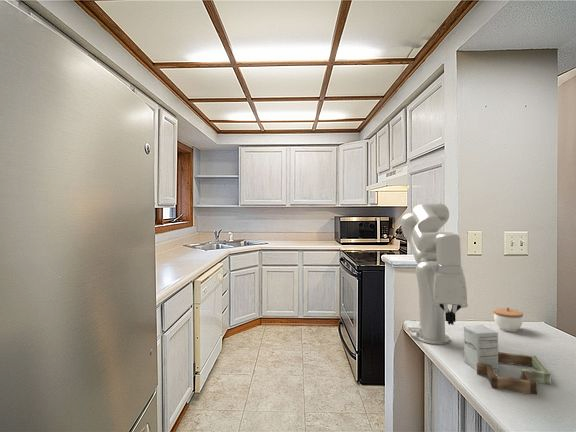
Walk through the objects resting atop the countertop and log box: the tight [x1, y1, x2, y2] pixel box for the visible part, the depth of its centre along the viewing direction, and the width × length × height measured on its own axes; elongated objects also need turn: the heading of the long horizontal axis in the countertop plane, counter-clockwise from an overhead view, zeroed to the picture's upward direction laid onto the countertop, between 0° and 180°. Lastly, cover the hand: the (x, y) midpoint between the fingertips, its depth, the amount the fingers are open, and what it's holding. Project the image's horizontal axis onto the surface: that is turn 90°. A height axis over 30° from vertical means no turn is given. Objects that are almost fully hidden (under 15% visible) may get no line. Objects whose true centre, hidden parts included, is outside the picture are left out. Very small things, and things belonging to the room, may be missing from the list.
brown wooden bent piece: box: [486, 366, 538, 395], centre depth 98 cm, size 11×8×3 cm
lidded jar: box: [493, 307, 524, 333], centre depth 142 cm, size 11×11×9 cm
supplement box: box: [463, 324, 499, 371], centre depth 110 cm, size 7×7×13 cm
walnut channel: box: [476, 351, 552, 385], centre depth 107 cm, size 19×13×3 cm
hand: (450, 323), depth 112 cm, fingers closed
